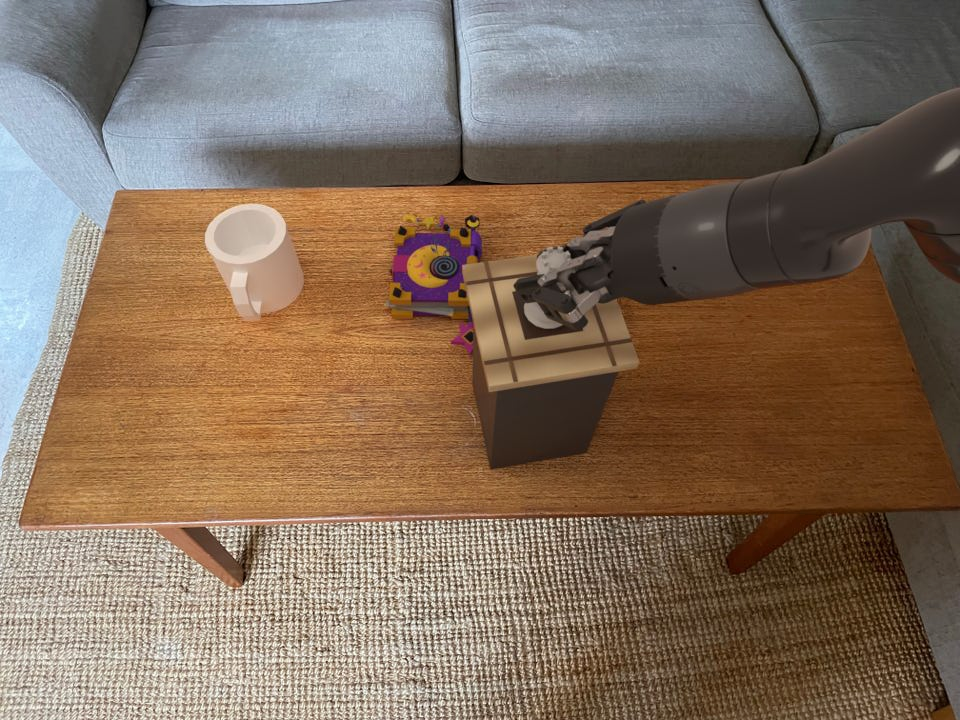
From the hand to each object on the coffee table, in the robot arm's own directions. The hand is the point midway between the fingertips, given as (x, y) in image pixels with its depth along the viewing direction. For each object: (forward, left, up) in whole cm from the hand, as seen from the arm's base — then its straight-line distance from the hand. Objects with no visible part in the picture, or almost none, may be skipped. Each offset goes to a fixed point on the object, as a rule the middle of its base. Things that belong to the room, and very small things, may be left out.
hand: (532, 276), depth 59 cm
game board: (-1, -2, -5) cm, 6 cm away
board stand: (-1, -2, -27) cm, 27 cm away
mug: (+25, +30, -27) cm, 48 cm away
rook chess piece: (-1, -1, -4) cm, 5 cm away
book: (+21, +6, -27) cm, 35 cm away
